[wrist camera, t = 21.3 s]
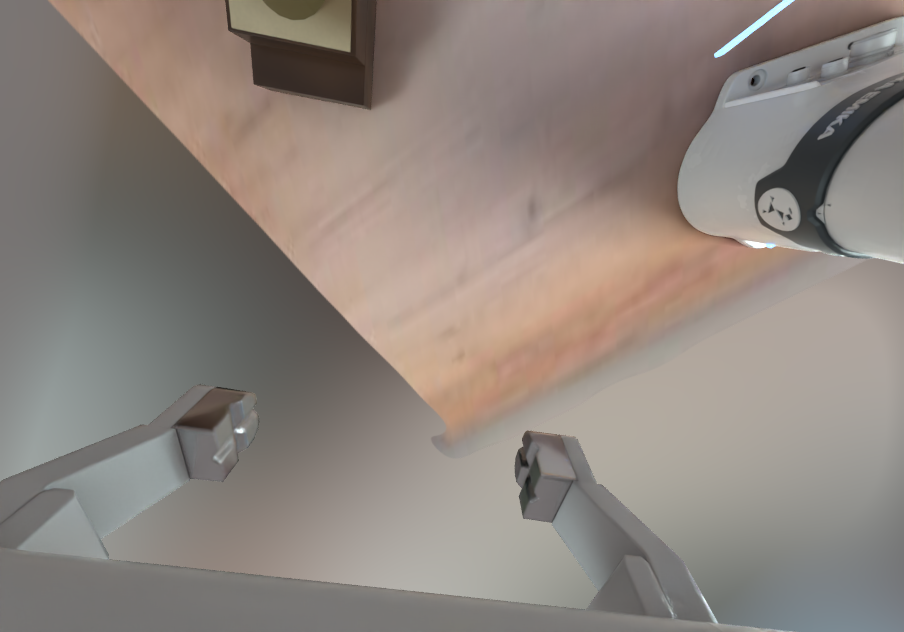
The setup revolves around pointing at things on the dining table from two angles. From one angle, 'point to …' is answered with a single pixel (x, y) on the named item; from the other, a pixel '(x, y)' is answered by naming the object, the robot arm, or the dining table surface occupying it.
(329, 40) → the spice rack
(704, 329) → the dining table surface
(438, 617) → the robot arm
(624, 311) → the dining table surface
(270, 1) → the cork
